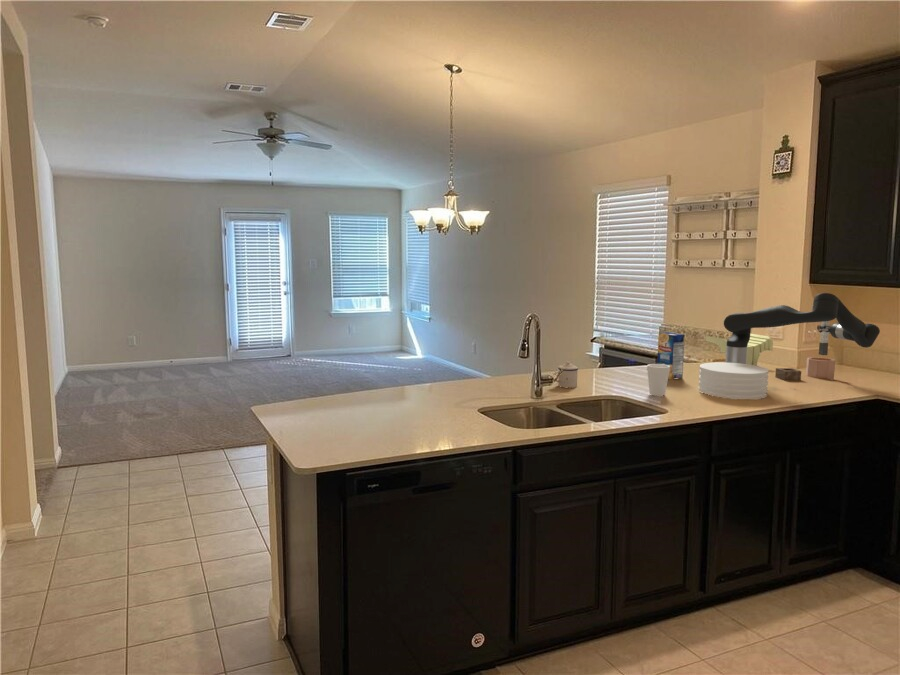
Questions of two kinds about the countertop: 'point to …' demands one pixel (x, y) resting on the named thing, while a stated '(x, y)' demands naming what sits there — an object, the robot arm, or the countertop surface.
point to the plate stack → (733, 380)
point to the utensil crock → (820, 367)
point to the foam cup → (658, 378)
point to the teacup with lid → (567, 375)
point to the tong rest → (788, 374)
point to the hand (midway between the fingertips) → (821, 327)
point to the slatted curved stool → (753, 348)
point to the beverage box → (671, 352)
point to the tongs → (823, 340)
